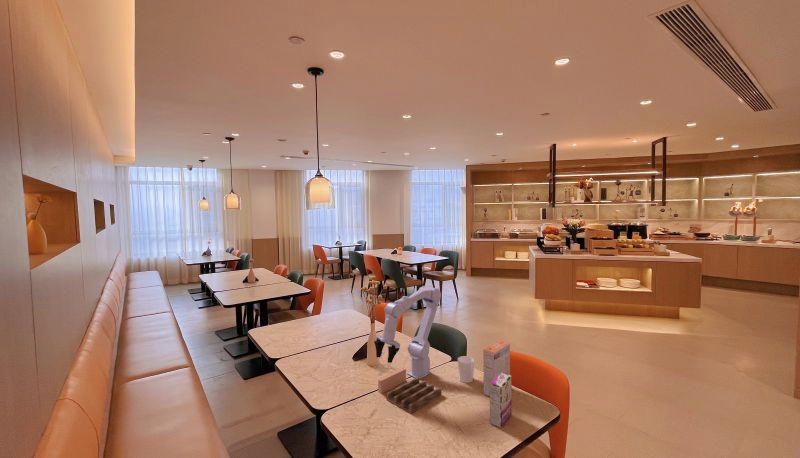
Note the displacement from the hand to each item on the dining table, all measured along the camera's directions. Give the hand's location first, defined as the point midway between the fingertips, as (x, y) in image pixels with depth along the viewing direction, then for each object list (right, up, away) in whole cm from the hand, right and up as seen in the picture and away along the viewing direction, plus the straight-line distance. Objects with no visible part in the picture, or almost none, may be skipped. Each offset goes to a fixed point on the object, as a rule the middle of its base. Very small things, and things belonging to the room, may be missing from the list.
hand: (383, 359), depth 160 cm
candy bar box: (+47, -16, -21) cm, 54 cm away
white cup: (+39, -14, +11) cm, 43 cm away
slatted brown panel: (+14, -15, -5) cm, 21 cm away
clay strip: (+4, -14, +5) cm, 16 cm away
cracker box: (+51, -14, 0) cm, 53 cm away
